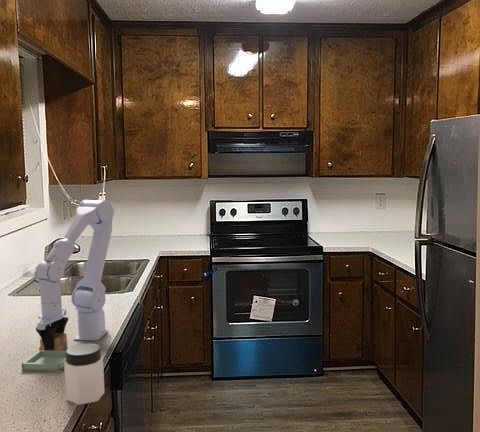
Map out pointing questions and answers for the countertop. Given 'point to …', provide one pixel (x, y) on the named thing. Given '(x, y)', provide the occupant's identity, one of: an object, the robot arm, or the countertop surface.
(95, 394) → the jar
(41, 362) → the tray
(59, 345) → the wooden blocks
